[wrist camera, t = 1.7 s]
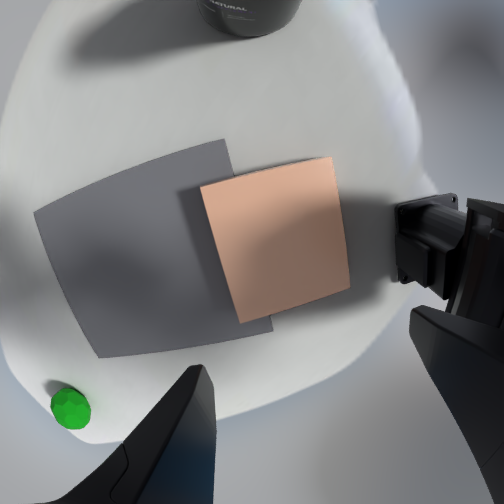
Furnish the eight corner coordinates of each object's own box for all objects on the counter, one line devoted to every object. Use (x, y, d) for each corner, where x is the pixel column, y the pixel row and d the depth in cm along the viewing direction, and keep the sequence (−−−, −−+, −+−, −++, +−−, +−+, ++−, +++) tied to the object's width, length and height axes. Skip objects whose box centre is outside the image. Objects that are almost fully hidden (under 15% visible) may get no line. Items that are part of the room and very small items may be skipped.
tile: (200, 185, 17) (321, 157, 17) (237, 311, 19) (340, 279, 20) (200, 187, 15) (331, 156, 16) (240, 323, 18) (350, 287, 19)
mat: (224, 139, 17) (223, 138, 16) (272, 325, 21) (273, 331, 20) (39, 210, 17) (33, 212, 17) (102, 353, 22) (99, 358, 21)
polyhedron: (71, 375, 23) (53, 404, 19) (103, 403, 25) (90, 434, 20) (55, 386, 24) (39, 412, 20) (84, 412, 25) (72, 439, 21)
